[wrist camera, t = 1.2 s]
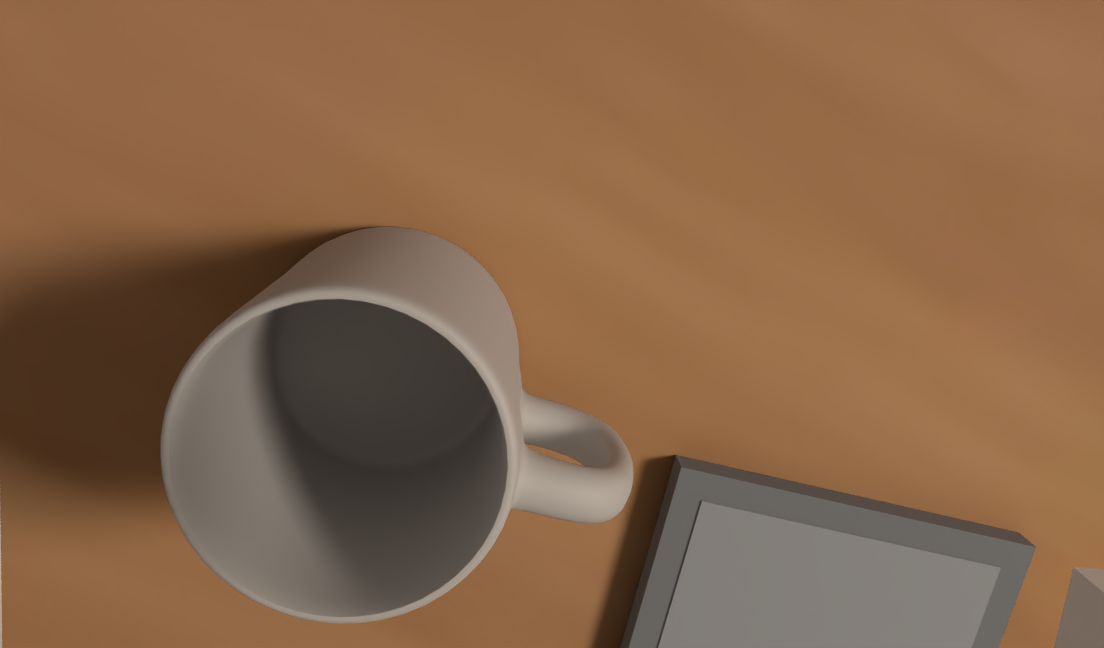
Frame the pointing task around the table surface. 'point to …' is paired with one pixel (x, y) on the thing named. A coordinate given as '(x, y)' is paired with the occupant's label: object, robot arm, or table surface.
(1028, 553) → the coaster
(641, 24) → the table surface
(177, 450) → the mug
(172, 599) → the table surface
